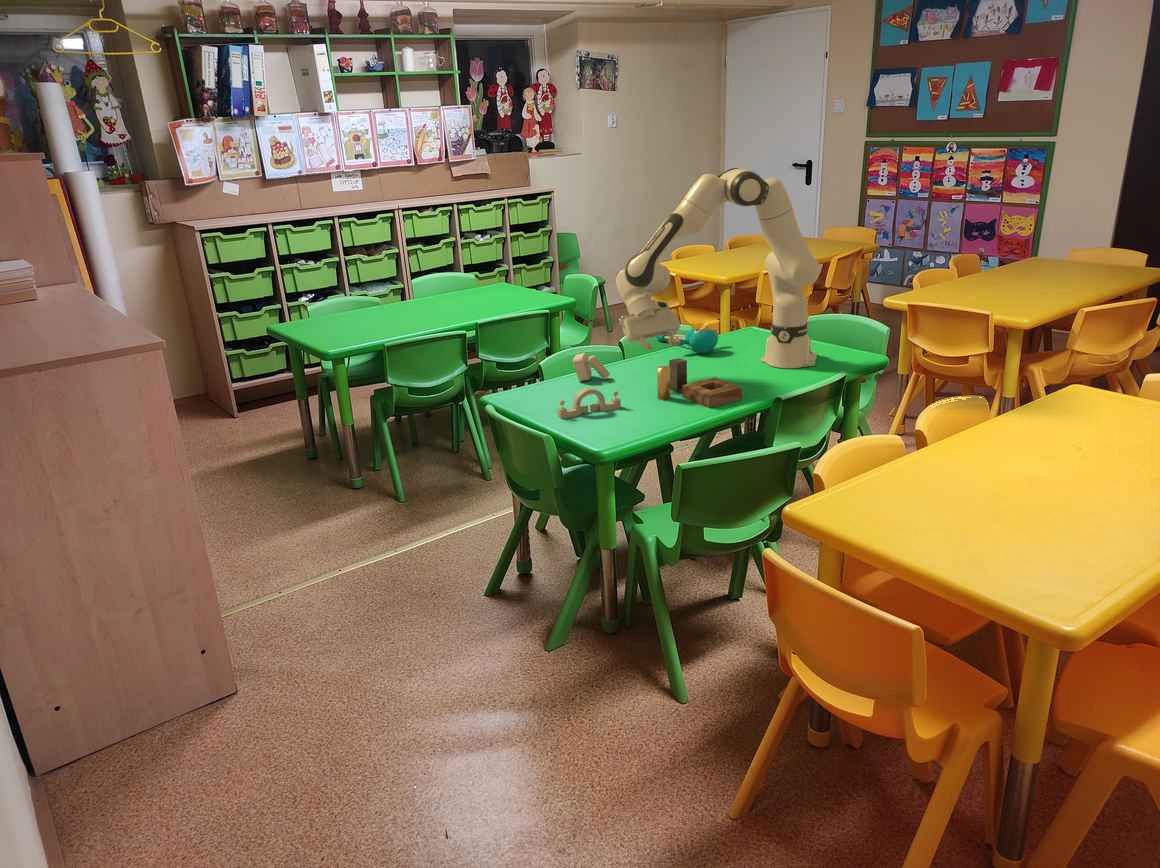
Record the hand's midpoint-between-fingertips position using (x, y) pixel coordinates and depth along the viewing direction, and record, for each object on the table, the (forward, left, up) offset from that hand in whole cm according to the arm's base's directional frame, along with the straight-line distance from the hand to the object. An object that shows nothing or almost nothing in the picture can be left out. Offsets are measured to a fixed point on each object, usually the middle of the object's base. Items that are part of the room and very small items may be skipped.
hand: (661, 346), depth 264 cm
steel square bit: (+4, +8, -13) cm, 16 cm away
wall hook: (+3, -24, -13) cm, 28 cm away
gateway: (+33, -9, -14) cm, 37 cm away
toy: (-45, -10, -13) cm, 48 cm away
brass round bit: (+13, +7, -13) cm, 20 cm away
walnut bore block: (+8, +21, -13) cm, 26 cm away
